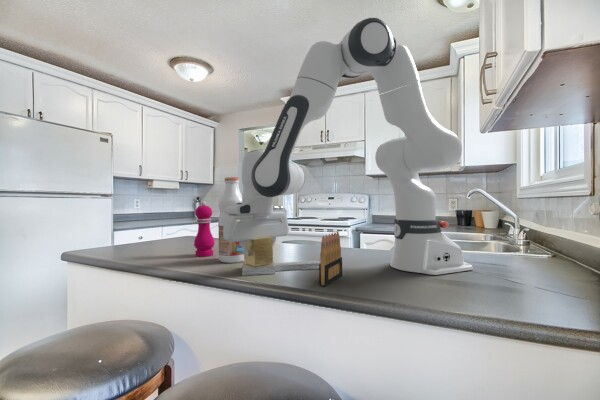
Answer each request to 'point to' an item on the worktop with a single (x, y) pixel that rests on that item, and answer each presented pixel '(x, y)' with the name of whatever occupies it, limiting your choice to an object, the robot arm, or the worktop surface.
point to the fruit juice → (227, 250)
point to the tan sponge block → (260, 252)
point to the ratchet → (278, 267)
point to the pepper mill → (204, 231)
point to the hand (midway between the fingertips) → (258, 254)
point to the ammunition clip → (330, 260)
